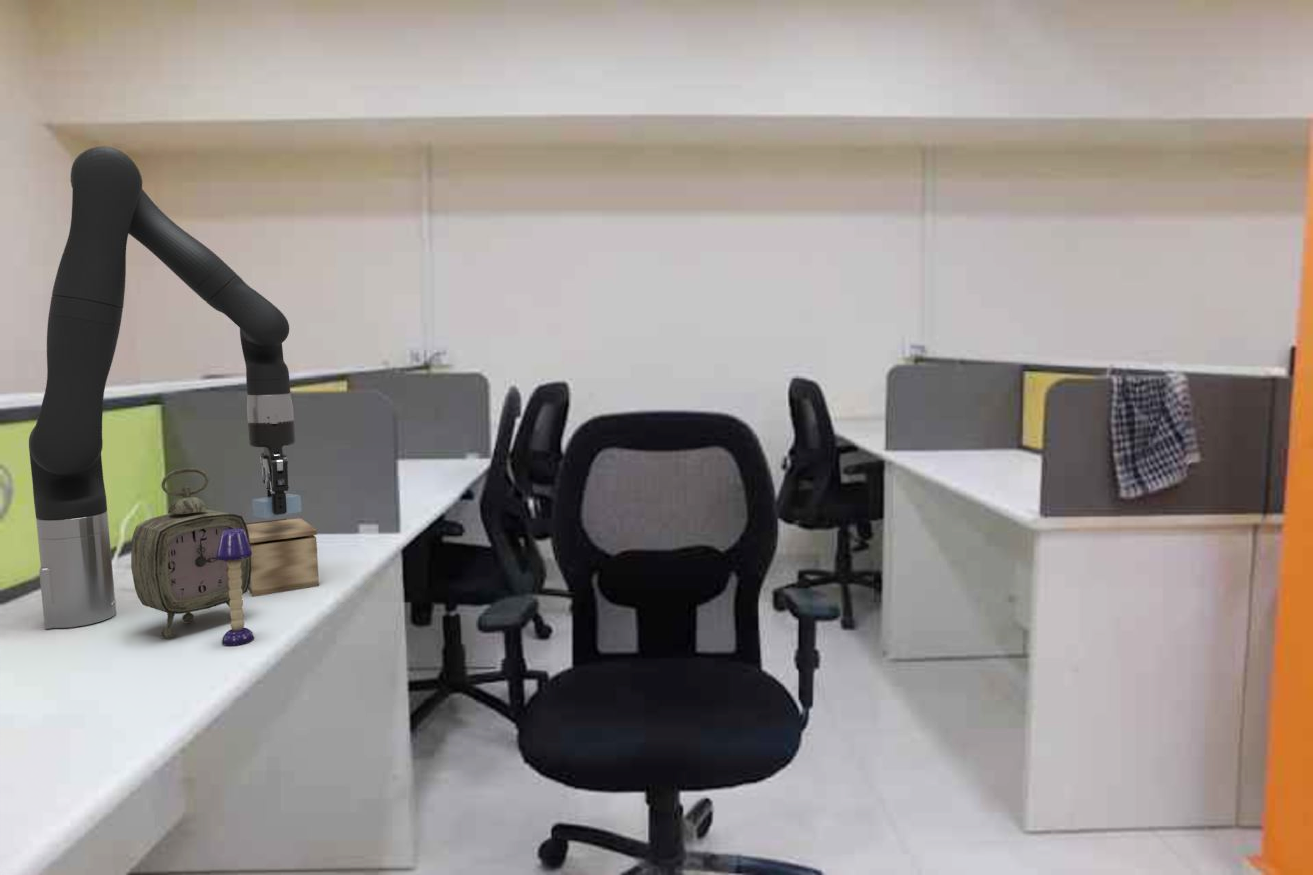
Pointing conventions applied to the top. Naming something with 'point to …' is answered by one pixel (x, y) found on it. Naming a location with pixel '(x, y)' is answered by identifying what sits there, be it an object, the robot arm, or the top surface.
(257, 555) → the crate
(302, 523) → the lid
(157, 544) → the tabletop clock
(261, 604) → the top surface
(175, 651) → the top surface
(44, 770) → the top surface
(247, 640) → the toy lamp
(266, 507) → the light blue block
